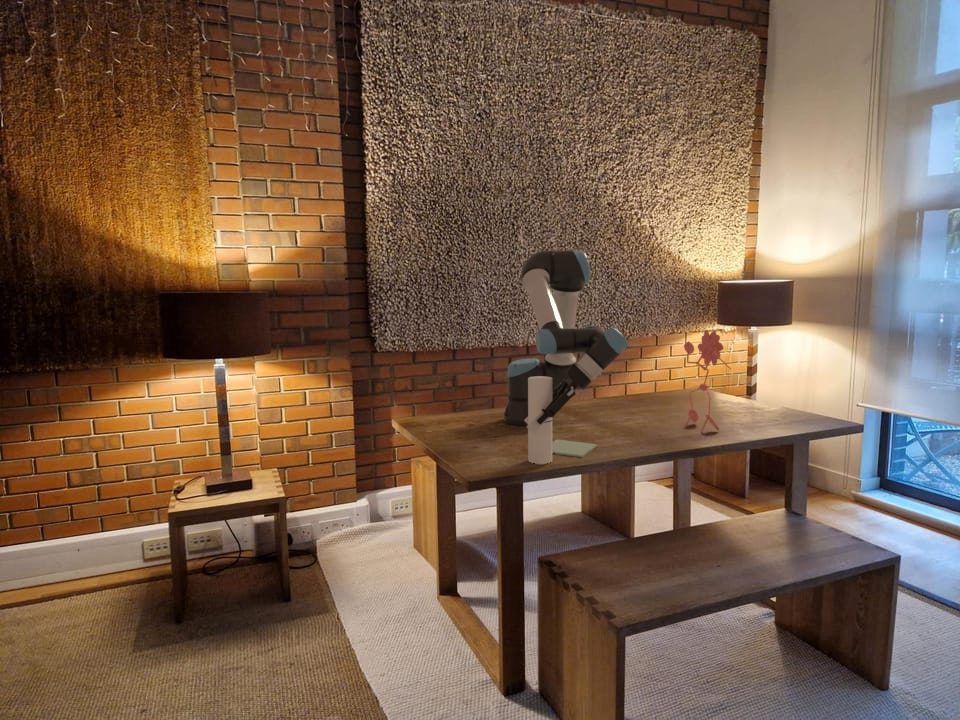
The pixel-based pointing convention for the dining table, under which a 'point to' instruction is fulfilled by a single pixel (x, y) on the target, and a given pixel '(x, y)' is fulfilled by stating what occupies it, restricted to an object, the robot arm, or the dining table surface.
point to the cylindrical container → (536, 402)
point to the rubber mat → (572, 448)
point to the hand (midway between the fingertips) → (528, 426)
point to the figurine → (709, 353)
